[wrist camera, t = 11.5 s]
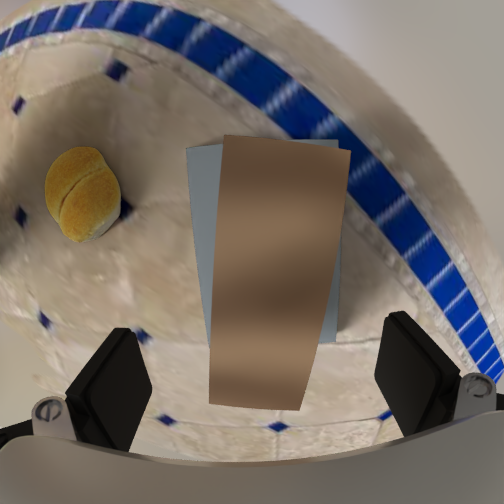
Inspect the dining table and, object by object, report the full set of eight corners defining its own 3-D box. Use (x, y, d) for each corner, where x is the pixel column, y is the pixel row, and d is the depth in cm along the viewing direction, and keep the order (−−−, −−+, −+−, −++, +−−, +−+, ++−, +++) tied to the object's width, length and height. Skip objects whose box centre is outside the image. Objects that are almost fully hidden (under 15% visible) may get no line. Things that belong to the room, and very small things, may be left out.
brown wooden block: (232, 143, 16) (223, 134, 12) (330, 155, 16) (351, 150, 12) (216, 367, 20) (209, 403, 17) (294, 374, 20) (299, 410, 17)
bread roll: (90, 131, 22) (66, 127, 18) (138, 201, 24) (118, 206, 20) (44, 187, 24) (20, 191, 20) (86, 252, 25) (64, 264, 22)
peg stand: (211, 339, 27) (199, 381, 21) (190, 149, 22) (166, 141, 16) (332, 333, 27) (348, 374, 20) (333, 141, 22) (358, 131, 16)
